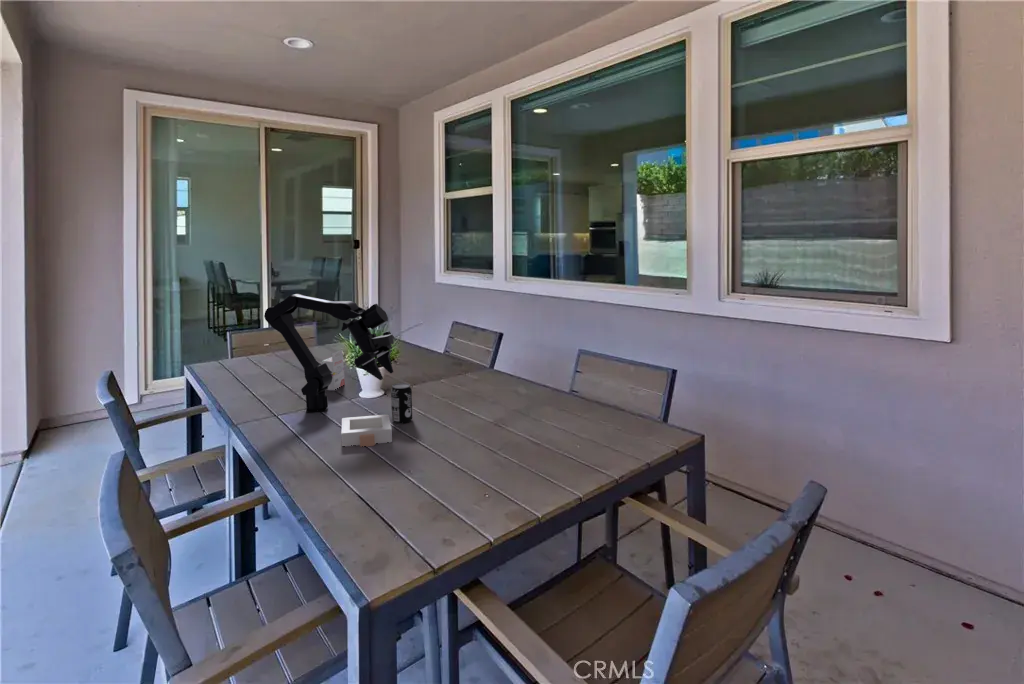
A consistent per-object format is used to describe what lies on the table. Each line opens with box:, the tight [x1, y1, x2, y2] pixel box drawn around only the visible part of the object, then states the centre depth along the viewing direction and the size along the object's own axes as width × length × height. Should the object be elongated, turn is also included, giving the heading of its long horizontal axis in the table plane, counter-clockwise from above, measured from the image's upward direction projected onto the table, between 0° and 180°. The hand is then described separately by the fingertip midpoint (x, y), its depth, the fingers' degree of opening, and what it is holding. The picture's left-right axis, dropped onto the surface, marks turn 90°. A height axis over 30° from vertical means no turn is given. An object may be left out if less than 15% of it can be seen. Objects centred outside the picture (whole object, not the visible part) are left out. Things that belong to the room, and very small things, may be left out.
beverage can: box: [390, 382, 413, 424], centre depth 178 cm, size 7×7×12 cm
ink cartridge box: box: [321, 349, 346, 391], centre depth 217 cm, size 9×5×15 cm, turn 168°
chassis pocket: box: [340, 414, 393, 448], centre depth 165 cm, size 14×16×4 cm
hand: (387, 376), depth 184 cm, fingers open, 9 cm apart
